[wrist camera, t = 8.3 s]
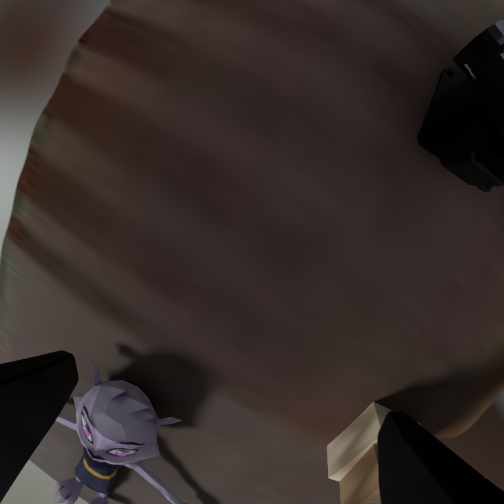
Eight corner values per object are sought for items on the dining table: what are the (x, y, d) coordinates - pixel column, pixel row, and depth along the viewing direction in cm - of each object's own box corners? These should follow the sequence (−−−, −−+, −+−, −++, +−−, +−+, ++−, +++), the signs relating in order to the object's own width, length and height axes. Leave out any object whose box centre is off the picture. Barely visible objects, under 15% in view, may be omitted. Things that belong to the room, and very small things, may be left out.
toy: (1, 456, 25) (-42, 322, 14) (33, 422, 33) (34, 278, 23) (157, 559, 25) (272, 536, 14) (177, 515, 33) (289, 443, 23)
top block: (373, 443, 18) (382, 485, 14) (424, 450, 17) (437, 487, 13) (339, 481, 19) (341, 519, 15) (389, 486, 18) (396, 521, 15)
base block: (372, 400, 21) (382, 434, 17) (420, 421, 21) (432, 452, 17) (326, 444, 23) (328, 478, 19) (375, 461, 23) (381, 492, 19)
